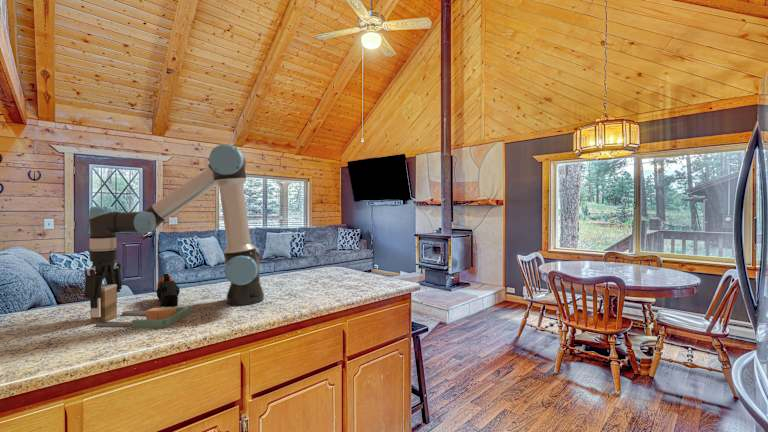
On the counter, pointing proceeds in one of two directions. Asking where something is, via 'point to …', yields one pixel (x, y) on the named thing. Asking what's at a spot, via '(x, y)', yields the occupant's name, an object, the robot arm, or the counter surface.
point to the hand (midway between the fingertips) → (104, 313)
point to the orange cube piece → (166, 313)
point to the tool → (167, 291)
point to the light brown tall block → (107, 303)
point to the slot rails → (121, 324)
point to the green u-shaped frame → (164, 323)
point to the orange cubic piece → (152, 314)
